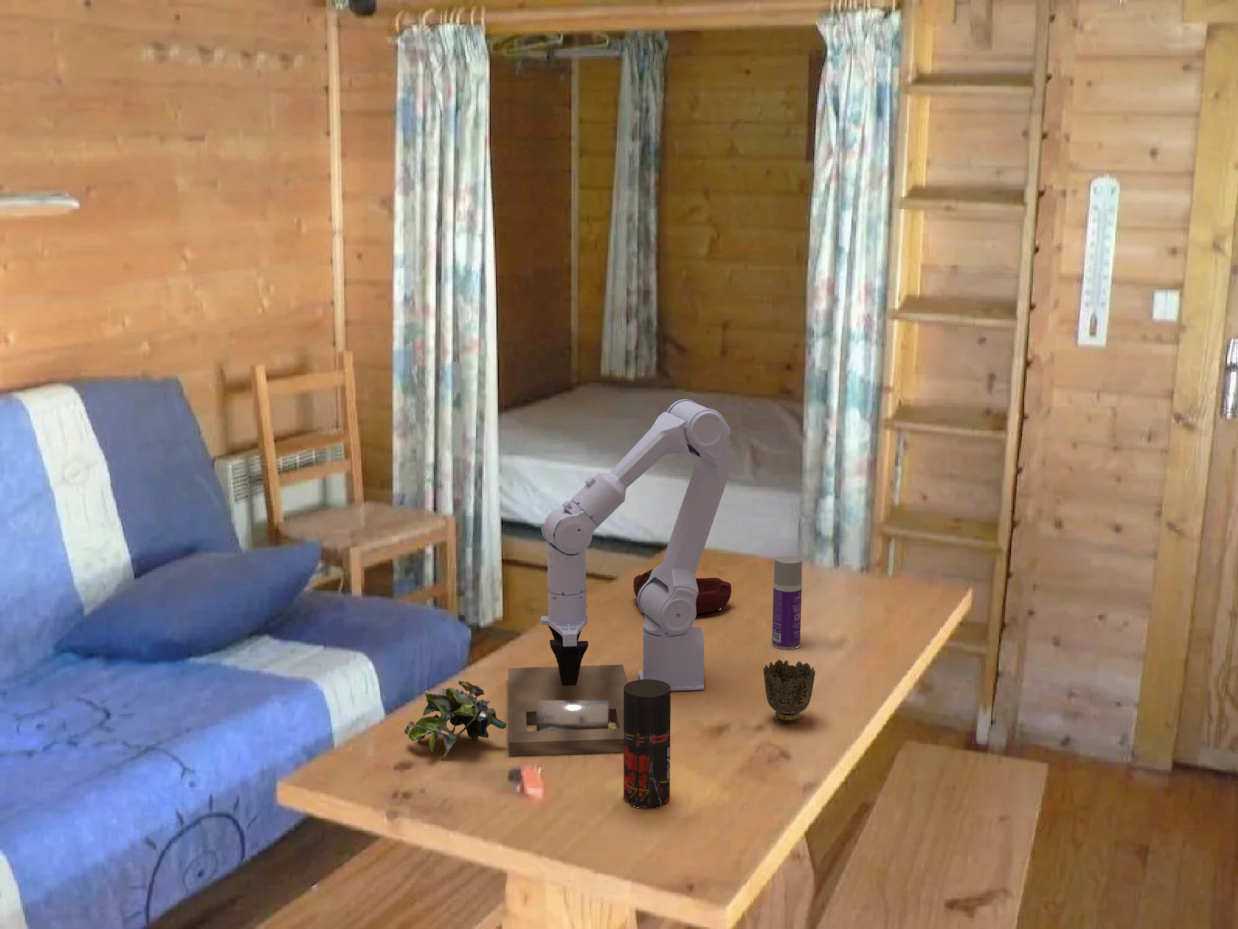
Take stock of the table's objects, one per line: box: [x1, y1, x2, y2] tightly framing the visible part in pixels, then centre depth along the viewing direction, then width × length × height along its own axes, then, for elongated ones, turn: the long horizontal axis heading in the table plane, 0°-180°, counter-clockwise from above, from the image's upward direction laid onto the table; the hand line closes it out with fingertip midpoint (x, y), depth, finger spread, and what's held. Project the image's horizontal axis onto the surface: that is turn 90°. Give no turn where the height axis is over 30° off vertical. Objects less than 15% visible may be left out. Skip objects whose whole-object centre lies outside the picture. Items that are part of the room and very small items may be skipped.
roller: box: [535, 700, 610, 731], centre depth 194 cm, size 10×5×5 cm, turn 89°
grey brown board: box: [507, 664, 628, 757], centre depth 202 cm, size 18×28×2 cm, turn 5°
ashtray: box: [632, 568, 732, 615], centre depth 248 cm, size 18×16×5 cm
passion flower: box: [403, 680, 507, 761], centre depth 189 cm, size 11×11×12 cm
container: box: [771, 555, 803, 650], centre depth 228 cm, size 5×5×15 cm
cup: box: [762, 659, 816, 725], centre depth 198 cm, size 8×7×8 cm
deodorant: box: [623, 679, 672, 809], centre depth 174 cm, size 6×6×15 cm
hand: (567, 675), depth 207 cm, fingers open, 7 cm apart
